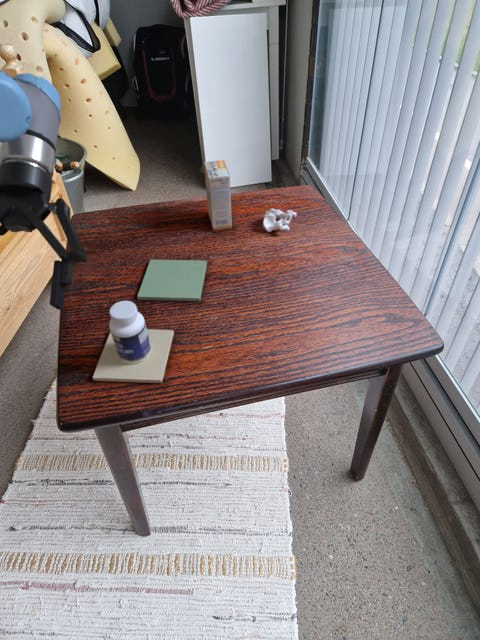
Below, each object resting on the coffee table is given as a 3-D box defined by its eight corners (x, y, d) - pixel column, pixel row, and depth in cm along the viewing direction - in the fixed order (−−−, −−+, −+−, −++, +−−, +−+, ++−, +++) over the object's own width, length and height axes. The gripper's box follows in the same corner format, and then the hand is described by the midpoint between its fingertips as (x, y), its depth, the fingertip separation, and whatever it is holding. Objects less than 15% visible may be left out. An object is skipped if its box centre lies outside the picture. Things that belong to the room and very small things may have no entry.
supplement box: (207, 213, 103) (202, 161, 94) (226, 211, 104) (224, 159, 94) (212, 231, 97) (208, 177, 88) (232, 228, 98) (230, 175, 89)
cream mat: (93, 380, 66) (92, 377, 66) (112, 331, 74) (111, 328, 74) (162, 383, 66) (161, 380, 65) (174, 333, 74) (173, 329, 73)
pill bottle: (112, 361, 68) (97, 318, 61) (127, 338, 72) (114, 295, 65) (143, 367, 67) (131, 324, 60) (156, 343, 71) (146, 300, 64)
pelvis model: (289, 223, 92) (260, 216, 93) (286, 239, 95) (258, 232, 96) (298, 205, 97) (271, 199, 99) (295, 221, 100) (269, 214, 102)
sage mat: (137, 299, 80) (136, 296, 80) (150, 262, 89) (150, 259, 88) (200, 301, 80) (199, 298, 79) (207, 263, 88) (207, 260, 88)
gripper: (114, 187, 68) (104, 313, 63) (-40, 186, 68) (-62, 313, 63) (99, 159, 61) (87, 299, 56) (-73, 158, 61) (-101, 299, 56)
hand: (8, 307), depth 60 cm, fingers open, 13 cm apart
